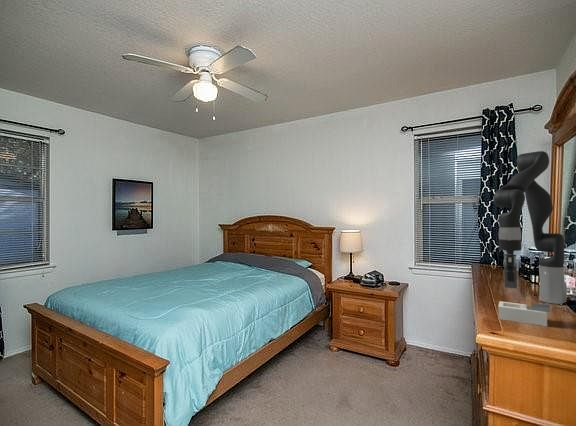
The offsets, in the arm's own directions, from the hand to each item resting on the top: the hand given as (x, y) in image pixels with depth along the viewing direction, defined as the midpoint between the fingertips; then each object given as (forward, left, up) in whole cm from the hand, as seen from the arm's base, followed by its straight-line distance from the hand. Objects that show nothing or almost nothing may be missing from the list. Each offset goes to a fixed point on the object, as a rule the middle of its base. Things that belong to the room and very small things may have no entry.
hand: (510, 280), depth 126 cm
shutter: (-6, +6, -10) cm, 13 cm away
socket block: (-2, +2, -15) cm, 15 cm away
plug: (0, 0, -3) cm, 3 cm away
